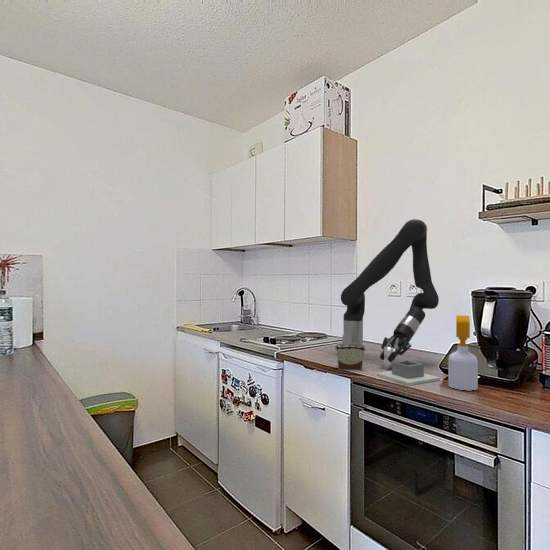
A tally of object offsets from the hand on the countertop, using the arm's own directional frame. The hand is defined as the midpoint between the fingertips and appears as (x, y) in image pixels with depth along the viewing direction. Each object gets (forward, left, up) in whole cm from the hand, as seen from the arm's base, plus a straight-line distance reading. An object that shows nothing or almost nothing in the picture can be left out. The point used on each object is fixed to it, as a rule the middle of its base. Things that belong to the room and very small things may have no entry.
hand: (385, 359), depth 158 cm
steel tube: (0, +2, -4) cm, 5 cm away
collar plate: (+14, -2, -4) cm, 15 cm away
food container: (-8, -12, -4) cm, 15 cm away
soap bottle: (+32, +5, -4) cm, 33 cm away
